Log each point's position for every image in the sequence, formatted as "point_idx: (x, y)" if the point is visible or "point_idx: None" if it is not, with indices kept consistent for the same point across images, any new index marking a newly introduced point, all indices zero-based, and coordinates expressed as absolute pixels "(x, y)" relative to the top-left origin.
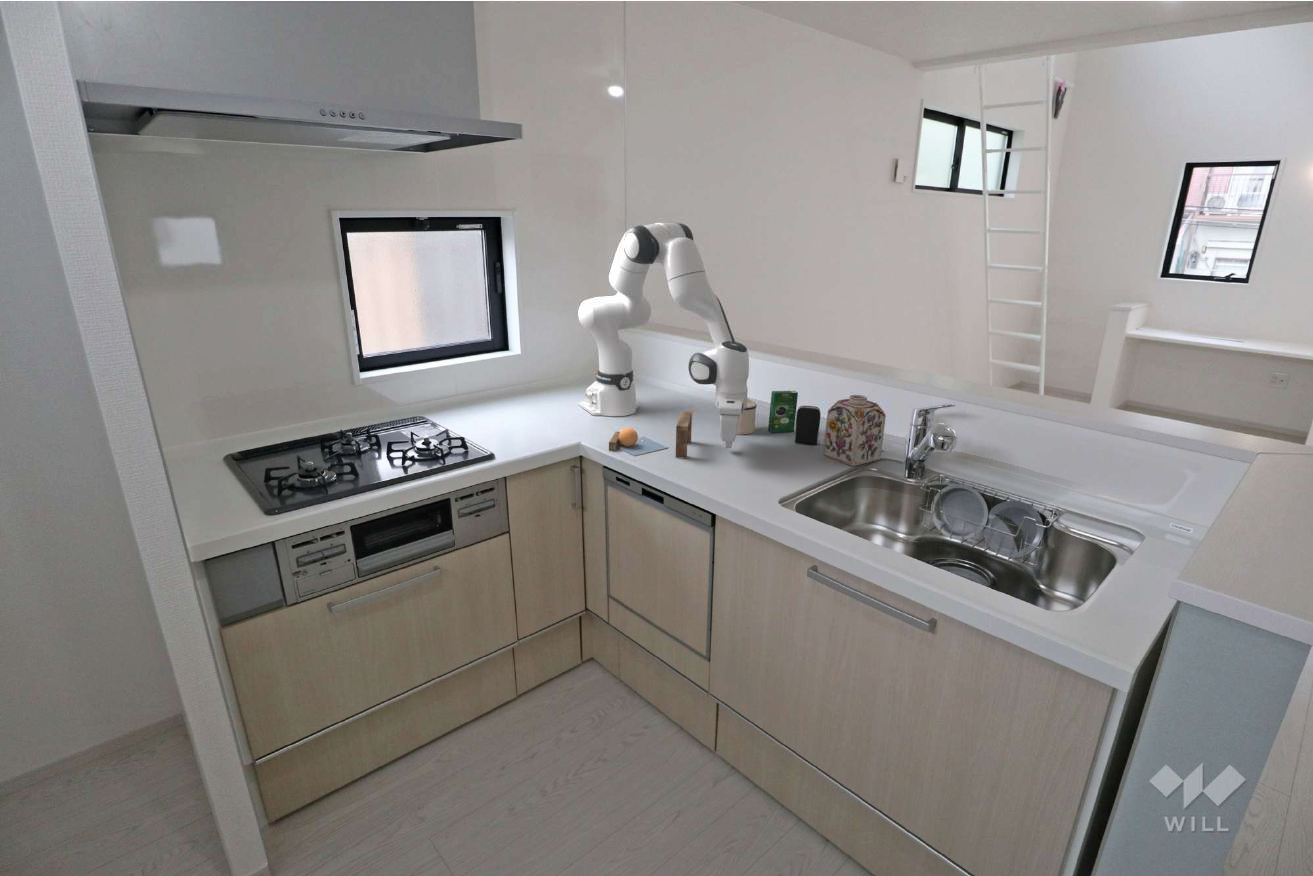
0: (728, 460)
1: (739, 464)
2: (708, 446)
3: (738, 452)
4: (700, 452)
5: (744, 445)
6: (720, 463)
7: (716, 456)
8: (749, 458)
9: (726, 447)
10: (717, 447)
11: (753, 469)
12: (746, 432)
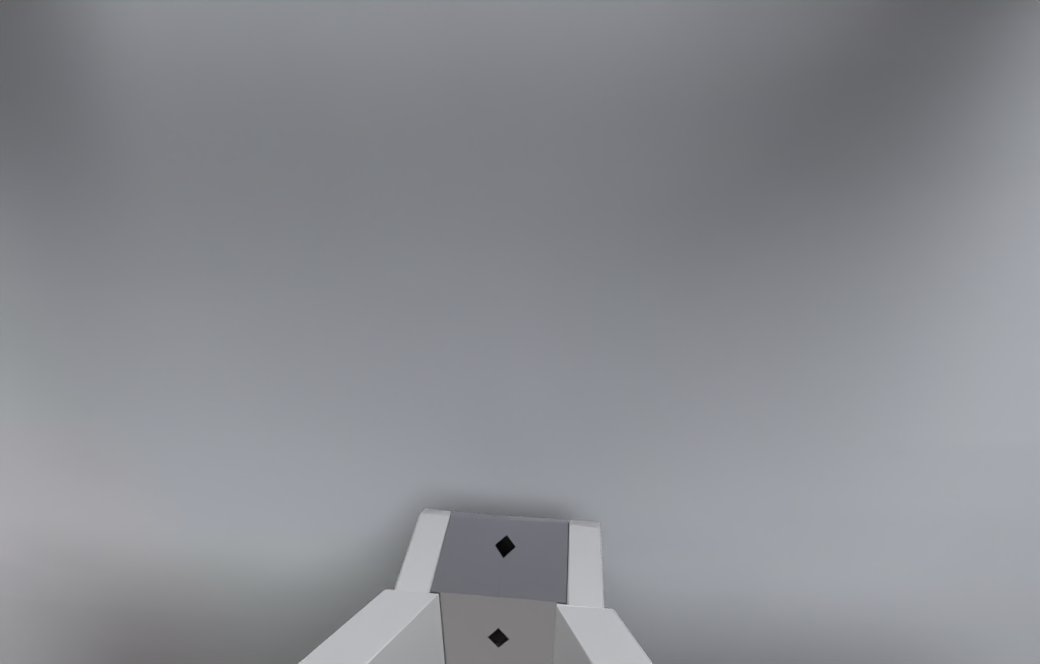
0: (192, 465)
1: (123, 560)
2: (795, 167)
3: None
4: (393, 13)
5: (823, 650)
6: (30, 373)
7: (281, 320)
8: None
9: (423, 521)
10: (733, 332)
11: (60, 649)
12: None
